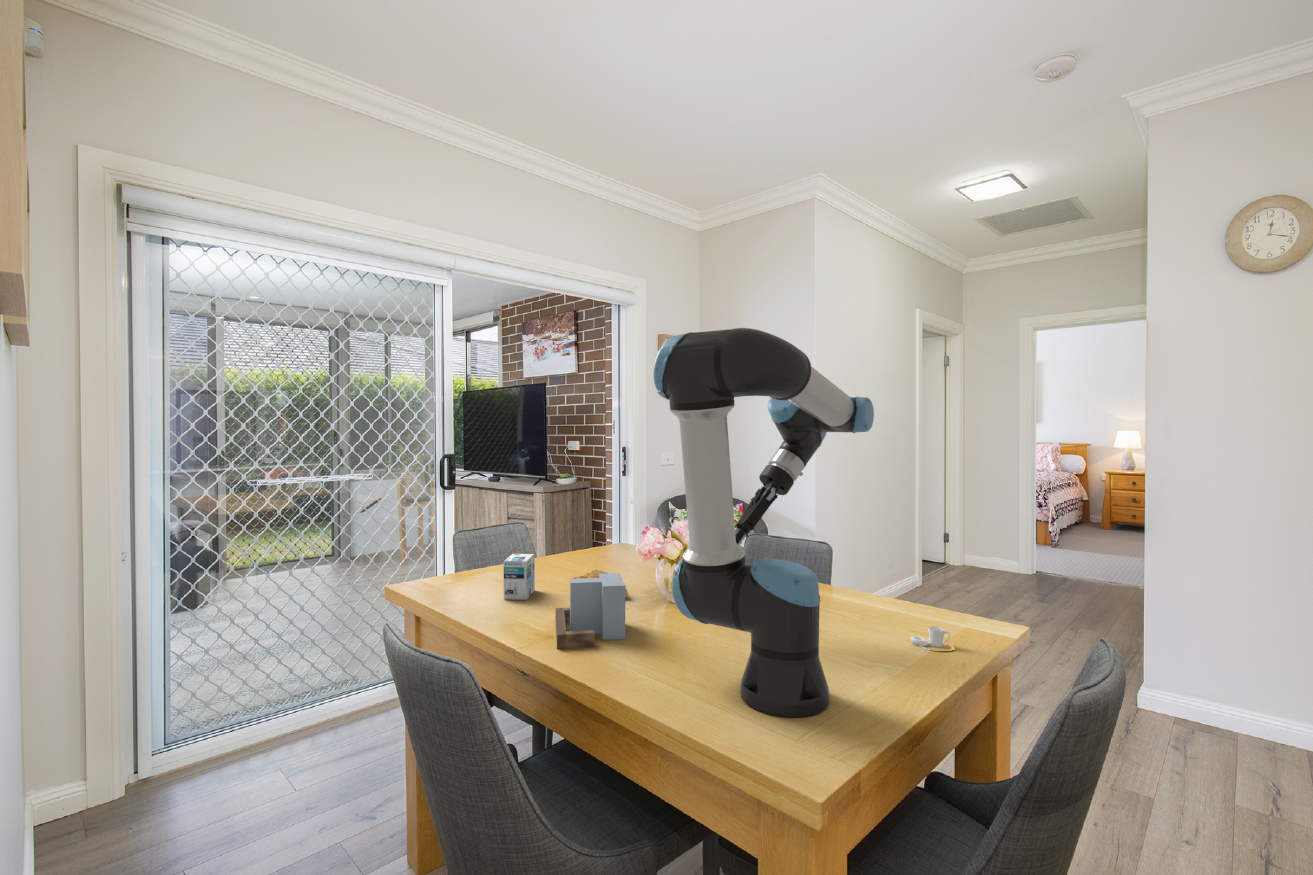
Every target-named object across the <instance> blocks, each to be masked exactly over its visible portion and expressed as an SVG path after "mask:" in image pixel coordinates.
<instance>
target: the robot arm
mask: <svg viewBox="0 0 1313 875" xmlns="http://www.w3.org/2000/svg"><path fill="white" fill-rule="evenodd" d="M653 381H654V385H655V388H656V390H658V394H659V395H660V396H661V397H662V398H664V399H666V400H668V401H669V402H668V403H669V410H670V411H669V412H671V413H672V414H673V415H674V416H676V418H677V419H678V420H679V431H680V442H681V444H680V445H681V454H682V456H681V457H682V467H683V478H684V480H683V482H684V492H685V503H686V516H687V525H688V526H687V528H688V529H687V530H688V538H689V539H688V541H689V542H688V543H689V546H688V547H687V548H686V549H685V550H684V551H683V553H682V558H681V559H680V560H679V562H678V563H677V564H676V566H675V568H674V570H673V574H674V576H673V577H672V579H671V580H672V581H671V590H672V596H673V597H672V598H673V601H674V603H675V606H676V608H677V609H678V611H679V612H680V613H681V614H682V615H684V616H685V617H686V618H688V619H690V620H693V621H697V622H699V623H700V624H704V625H714V626H718V627H723V628H728V629H733V630H737V631H742V632H746V633H749V634H750V639H751V640H750V641H751V642H750V654H749V656H748V659H747V663H746V665H745V668H744V671H743V674H742V676H741V681H740V698H741V700H742V701H743V702H744V703H745V704H746V705H747V706H748V707H751V708H752V709H754V710H756V711H759V712H760V713H761V712H762V713H765V714H768V715H772V716H778V717H785V718H802V717H808V716H809V717H810V716H814V715H817V714H820V713H822V712H823V711H825V710H826V709H827V708H828V706H829V704H830V690H829V684H828V682H827V679H826V675H825V672H824V670H823V665H822V663H821V659H820V654H819V653H820V650H819V648H820V604H821V596H820V587H819V586H820V584H819V579H818V576H817V574H816V573H815V572H814V571H812V570H811V569H810V568H809V567H807V566H805V565H803V564H799V563H796V562H793V561H789V560H784V559H774V558H759V559H756V560H754V561H753V562H752V564H751V565H749V564H746V552H745V549H744V548H743V547H742V546H740V545H741V544H742V542H743V541H744V540H745V538H747V537H748V536H749V533H750V532H751V531H753V530H754V528H755V527H756V526H757V524H758V523H759V521H760V520H761V519H762V518H763V516H764V514H765V513H766V512H767V511H768V510H769V509H770V507H771V505H772V504H773V503H774V501H776V499H778V496H786V495H787V494H788V493H789V491H791V489H792V488H793V485H795V482H796V481H797V479H798V478H799V477H802V476H803V475H804V472H802V471H803V470H804V469H805V467H807V464H808V463H809V461H810V460H811V459H812V457H813V456H814V454H815V453H816V452H817V451H818V449H819V448H820V447H821V446H822V443H823V442H824V440H825V438H826V436H827V433H852V434H856V433H867V432H869V431H870V430H871V429H872V427H873V424H874V418H875V414H874V413H875V409H874V404H873V402H872V400H871V399H870V398H868V397H867V396H866V397H863V396H860V397H859V396H855V397H853V396H851V397H850V396H849V395H848V394H847V393H846V392H844V391H843V390H842V389H841V388H839V387H838V386H837V385H836V384H834V383H833V382H832V381H830V380H829V379H828V378H827V377H825V376H824V375H823V374H821V372H819V371H818V370H817V369H815V368H814V367H813V366H812V364H811V361H810V358H809V357H808V356H807V354H806V353H805V352H804V351H802V350H801V349H799V348H798V347H796V345H794V344H793V343H791V342H789V341H787V340H785V339H784V338H782V337H778V336H776V335H775V334H772V333H769V332H766V331H763V330H759V329H756V328H747V327H736V328H731V329H728V328H727V329H721V330H717V329H716V330H709V331H695V332H692V331H690V332H686V333H682V334H677V335H672V336H670V337H669V338H667V339H666V340H665V341H664V342H663V343H662V344H661V346H660V349H659V350H658V351H657V353H656V356H655V359H654V363H653ZM741 397H769V400H768V403H767V410H768V412H769V414H770V417H771V420H772V422H773V424H774V425H775V427H776V428H777V430H778V433H779V434H780V435H781V437H782V440H783V441H782V443H781V445H780V446H779V447H778V449H776V451H775V452H774V454H773V456H772V457H770V460H769V461H768V464H767V465H766V466H765V467H764V468H763V470H762V471H761V472H760V474H759V477H758V478H759V481H760V483H761V484H762V485H763V486H761V487H760V488H758V489H757V491H756V492H755V493H754V496H753V497H752V498H751V499H750V502H749V503H748V505H747V507H746V508H745V510H744V511H743V513H742V514H741V516H740V518H739V519H738V521H737V522H735V511H734V509H735V508H734V497H733V496H734V495H733V485H732V484H733V483H732V481H733V480H732V471H731V469H732V468H731V456H730V443H729V441H730V440H729V428H728V427H729V426H728V416H729V413H730V412H731V411H732V409H733V408H734V407H735V405H736V404H735V398H741Z"/></svg>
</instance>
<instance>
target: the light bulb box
mask: <svg viewBox="0 0 1313 875" xmlns="http://www.w3.org/2000/svg"><path fill="white" fill-rule="evenodd" d="M535 555H536V554H534V553H512V554H511V555H509V556H508V557H506V559H505V560H503V600H519V601H520V600H521V601H522V600H524V601H527V600H528V599H529V598H530V597H531V595H532V594H534V592H535V589H536V588H535V586H536V585H535V583H536V579H535V574H536V573H535V572H536V571H535V568H536V567H535V566H536V565H535V564H536V563H535V562H536V561H535V560H536V559H535Z"/></svg>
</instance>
